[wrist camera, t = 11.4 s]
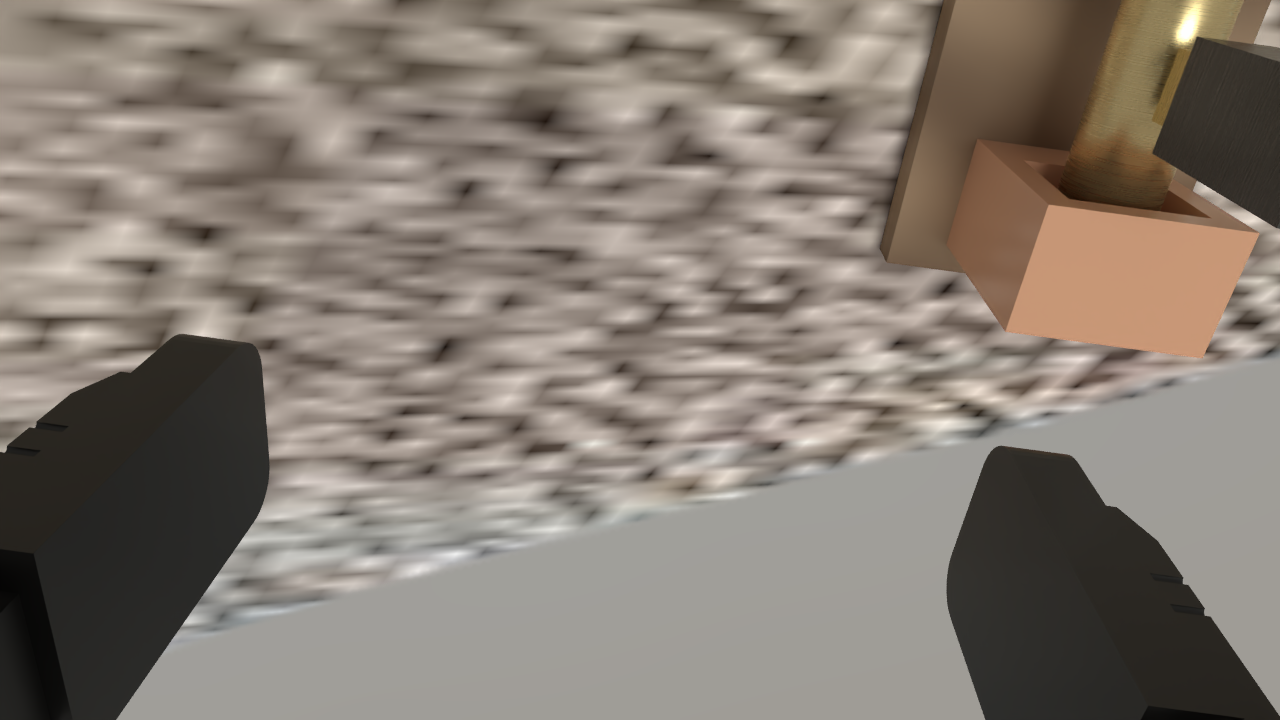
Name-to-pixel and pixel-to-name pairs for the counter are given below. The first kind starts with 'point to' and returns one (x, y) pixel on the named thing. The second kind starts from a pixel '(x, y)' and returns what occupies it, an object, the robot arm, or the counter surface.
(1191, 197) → the socket block
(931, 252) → the sleeve stand
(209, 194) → the counter surface
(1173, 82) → the gold and grey t-piece
